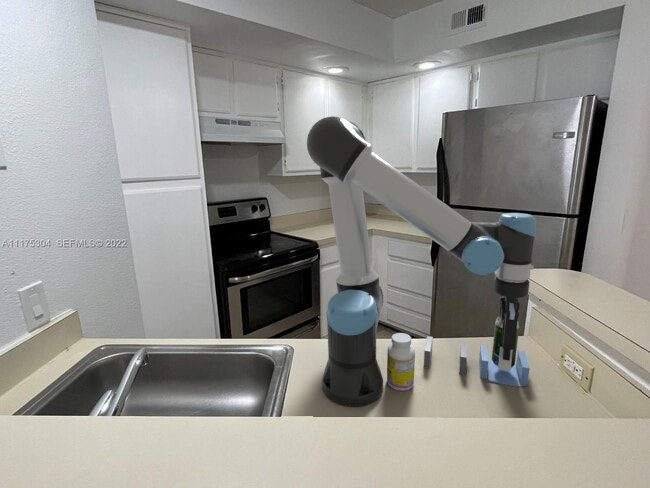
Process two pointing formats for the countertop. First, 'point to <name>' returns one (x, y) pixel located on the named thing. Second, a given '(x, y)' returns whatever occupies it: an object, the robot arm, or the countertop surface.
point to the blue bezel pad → (502, 375)
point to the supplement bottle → (400, 362)
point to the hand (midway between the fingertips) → (503, 362)
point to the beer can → (498, 340)
